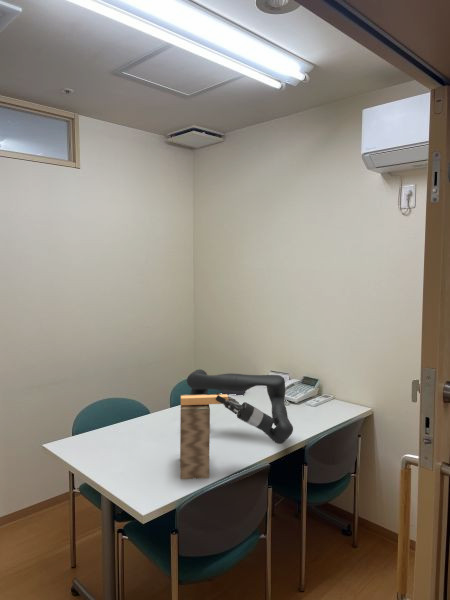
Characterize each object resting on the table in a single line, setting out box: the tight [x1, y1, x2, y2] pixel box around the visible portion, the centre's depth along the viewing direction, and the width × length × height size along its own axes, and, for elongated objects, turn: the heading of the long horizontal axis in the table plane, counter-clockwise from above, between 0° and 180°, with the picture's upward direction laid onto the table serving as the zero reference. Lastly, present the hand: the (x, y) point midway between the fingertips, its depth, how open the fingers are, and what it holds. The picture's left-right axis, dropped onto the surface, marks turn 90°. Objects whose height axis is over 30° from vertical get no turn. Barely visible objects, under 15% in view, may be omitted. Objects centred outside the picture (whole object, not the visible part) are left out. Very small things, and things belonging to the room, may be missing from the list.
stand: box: [179, 394, 211, 480], centre depth 196 cm, size 12×20×30 cm, turn 6°
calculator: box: [221, 390, 246, 396], centre depth 310 cm, size 11×4×15 cm
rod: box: [180, 394, 229, 406], centre depth 190 cm, size 20×4×3 cm, turn 96°
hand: (216, 396), depth 190 cm, fingers open, 3 cm apart
